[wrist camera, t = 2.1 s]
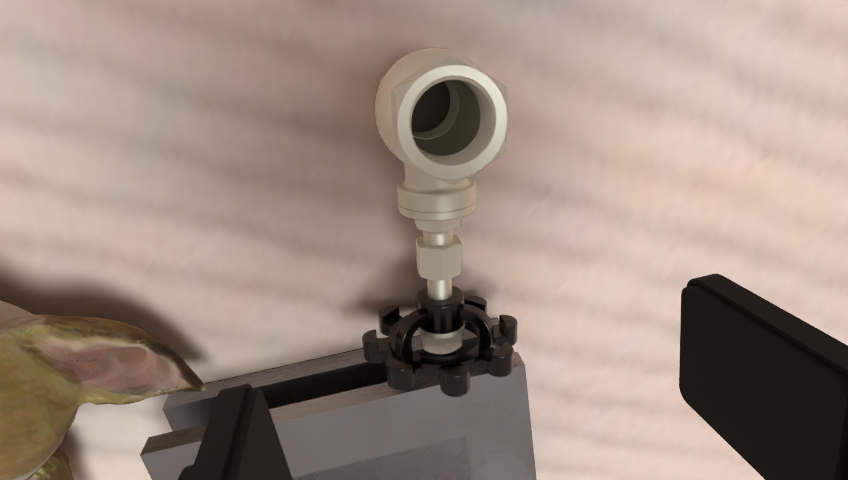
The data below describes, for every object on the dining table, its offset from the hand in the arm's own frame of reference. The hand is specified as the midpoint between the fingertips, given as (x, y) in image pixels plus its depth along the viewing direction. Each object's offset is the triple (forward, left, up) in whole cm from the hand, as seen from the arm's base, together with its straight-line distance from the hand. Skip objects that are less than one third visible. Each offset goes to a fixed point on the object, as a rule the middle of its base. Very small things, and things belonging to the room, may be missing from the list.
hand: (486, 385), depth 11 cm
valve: (-1, +1, -13) cm, 13 cm away
